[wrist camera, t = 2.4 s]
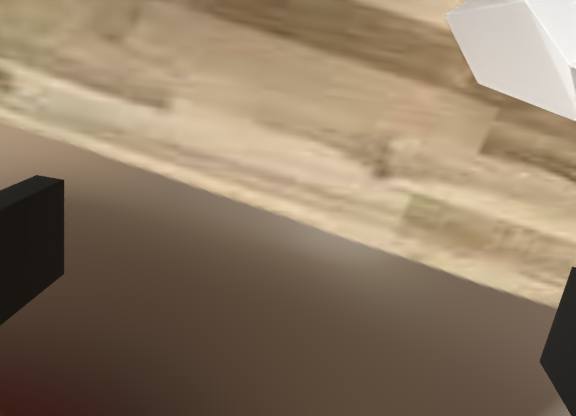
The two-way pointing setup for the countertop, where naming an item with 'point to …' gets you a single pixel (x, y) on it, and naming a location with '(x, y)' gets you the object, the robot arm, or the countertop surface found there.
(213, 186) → the countertop surface
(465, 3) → the milk
